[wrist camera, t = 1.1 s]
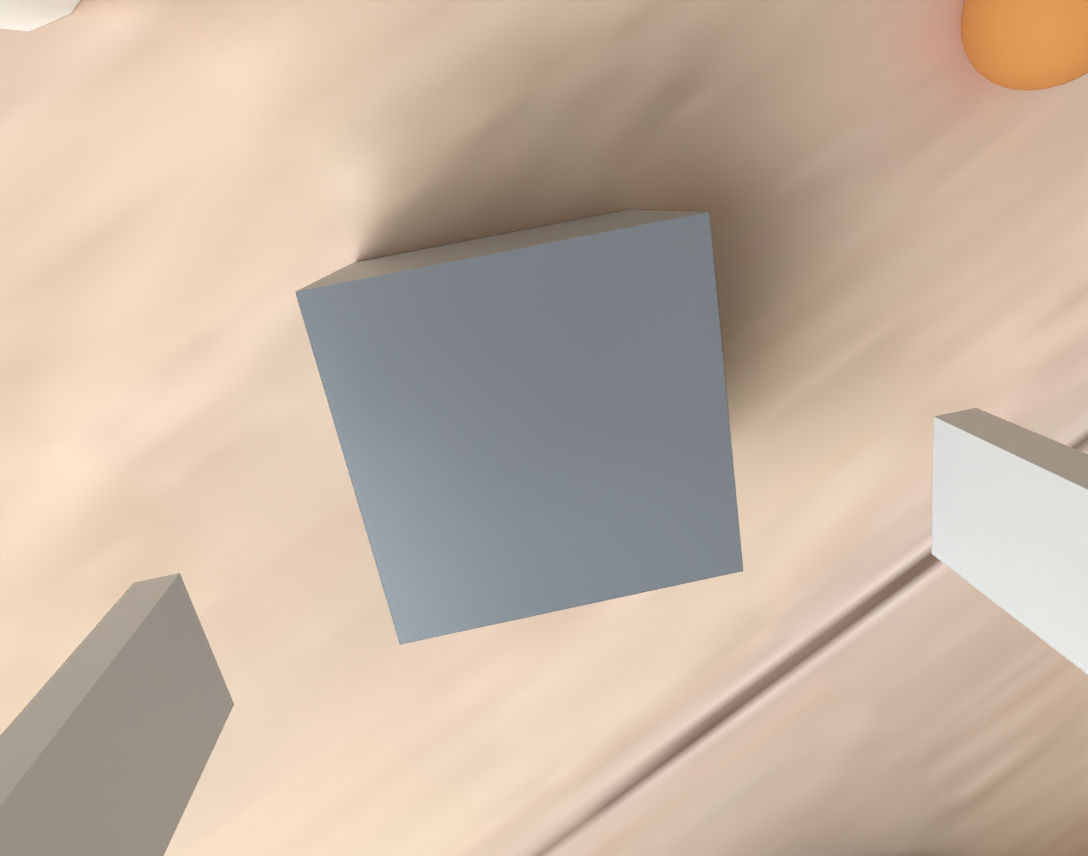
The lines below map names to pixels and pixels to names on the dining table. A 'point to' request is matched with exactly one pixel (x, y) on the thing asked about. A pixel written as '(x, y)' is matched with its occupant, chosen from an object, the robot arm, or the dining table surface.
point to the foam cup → (33, 12)
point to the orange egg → (1027, 41)
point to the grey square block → (533, 416)
